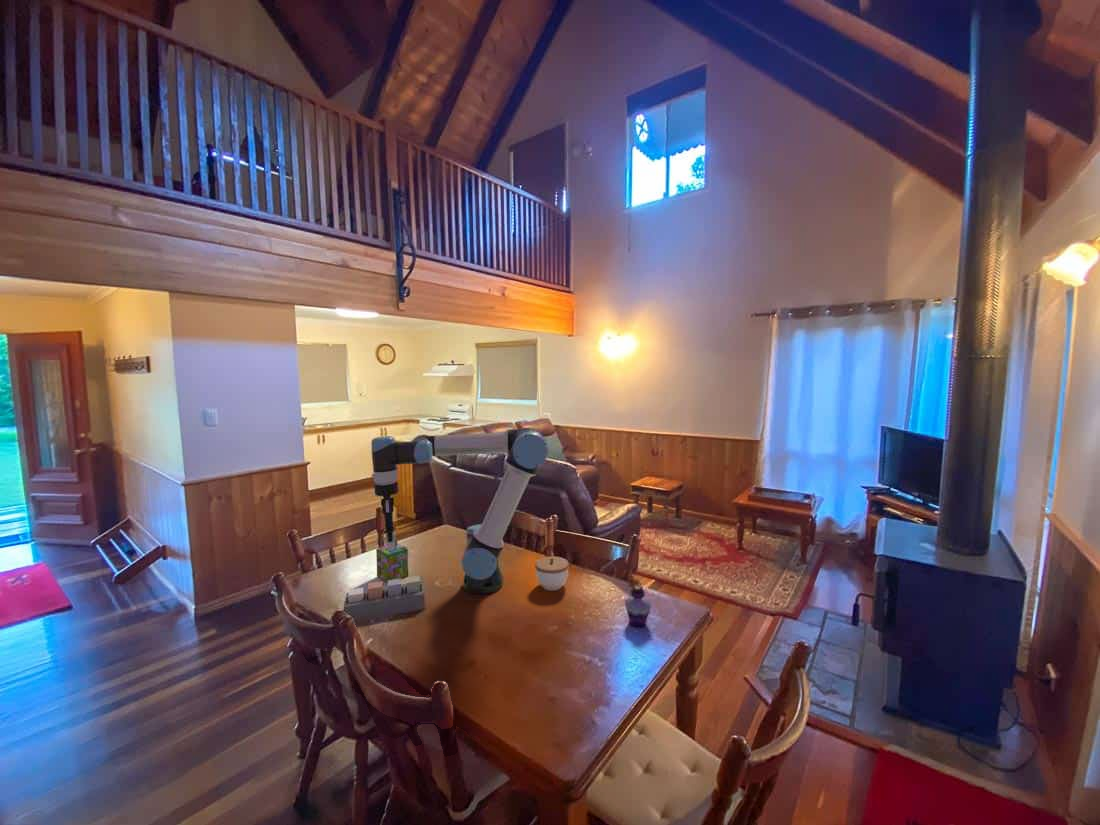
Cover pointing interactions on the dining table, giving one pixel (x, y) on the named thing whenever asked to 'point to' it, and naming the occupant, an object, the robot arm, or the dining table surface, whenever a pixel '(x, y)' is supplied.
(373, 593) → the terracotta key
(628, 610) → the potion bottle
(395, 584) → the slate key
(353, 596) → the ivory key
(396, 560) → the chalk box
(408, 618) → the dining table surface
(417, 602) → the console
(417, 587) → the sage key
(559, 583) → the lidded bowl
